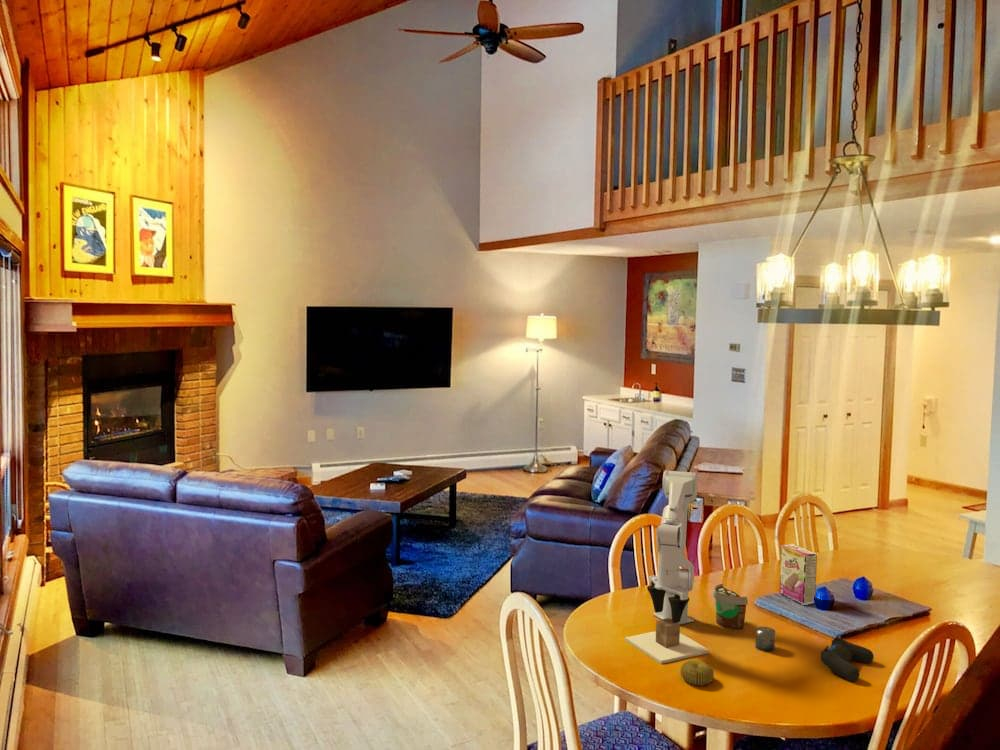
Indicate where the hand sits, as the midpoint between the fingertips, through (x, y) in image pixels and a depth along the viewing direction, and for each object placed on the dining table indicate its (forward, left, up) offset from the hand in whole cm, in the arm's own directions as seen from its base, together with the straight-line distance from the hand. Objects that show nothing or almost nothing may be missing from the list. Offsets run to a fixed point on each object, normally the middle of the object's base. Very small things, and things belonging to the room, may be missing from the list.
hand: (667, 616), depth 215 cm
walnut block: (0, 0, -8) cm, 8 cm away
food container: (-5, +25, -9) cm, 27 cm away
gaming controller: (+30, +35, -9) cm, 46 cm away
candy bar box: (-11, +60, -9) cm, 62 cm away
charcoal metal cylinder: (+12, +24, -8) cm, 28 cm away
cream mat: (0, 0, -8) cm, 8 cm away
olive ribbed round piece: (+19, -5, -9) cm, 21 cm away
